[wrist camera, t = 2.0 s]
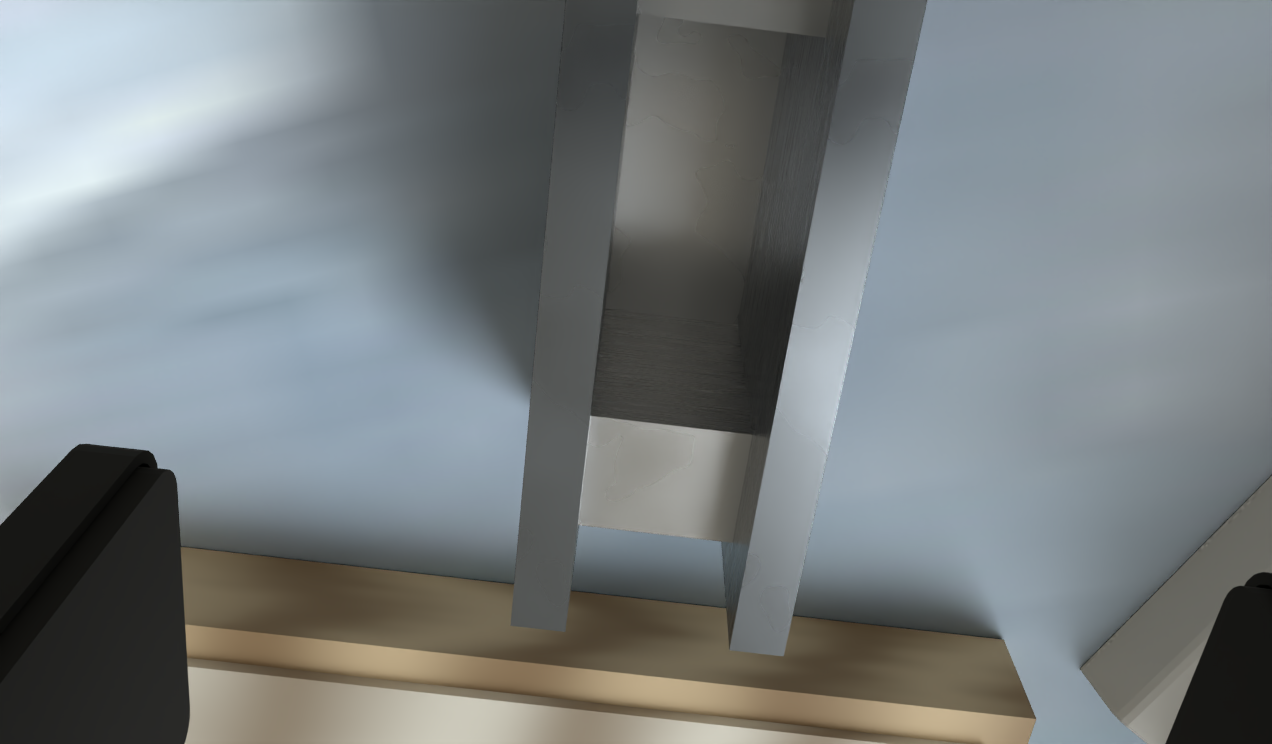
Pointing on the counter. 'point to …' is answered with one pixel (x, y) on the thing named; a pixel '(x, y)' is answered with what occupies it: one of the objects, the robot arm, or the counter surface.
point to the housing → (704, 281)
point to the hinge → (1179, 624)
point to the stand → (556, 668)
